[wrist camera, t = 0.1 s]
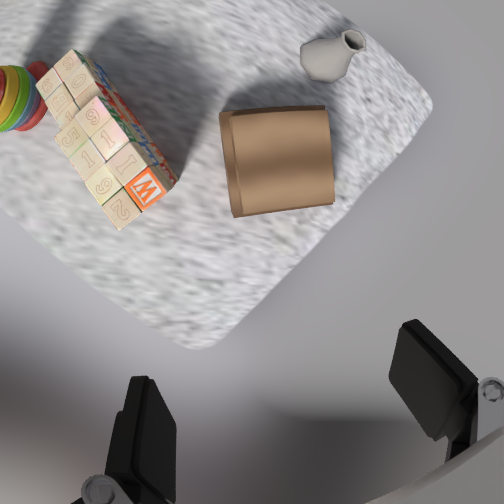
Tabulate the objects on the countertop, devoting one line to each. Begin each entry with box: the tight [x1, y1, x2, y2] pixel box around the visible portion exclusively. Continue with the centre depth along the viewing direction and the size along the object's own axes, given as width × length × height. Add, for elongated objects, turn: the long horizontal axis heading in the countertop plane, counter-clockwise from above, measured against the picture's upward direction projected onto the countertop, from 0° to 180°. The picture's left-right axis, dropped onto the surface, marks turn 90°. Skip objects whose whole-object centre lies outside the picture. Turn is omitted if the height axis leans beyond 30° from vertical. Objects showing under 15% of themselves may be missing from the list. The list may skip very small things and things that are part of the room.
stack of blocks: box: [36, 49, 179, 230], centre depth 27 cm, size 21×6×12 cm, turn 33°
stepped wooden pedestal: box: [219, 105, 335, 218], centre depth 34 cm, size 13×13×7 cm
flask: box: [300, 29, 366, 83], centre depth 28 cm, size 7×7×10 cm
